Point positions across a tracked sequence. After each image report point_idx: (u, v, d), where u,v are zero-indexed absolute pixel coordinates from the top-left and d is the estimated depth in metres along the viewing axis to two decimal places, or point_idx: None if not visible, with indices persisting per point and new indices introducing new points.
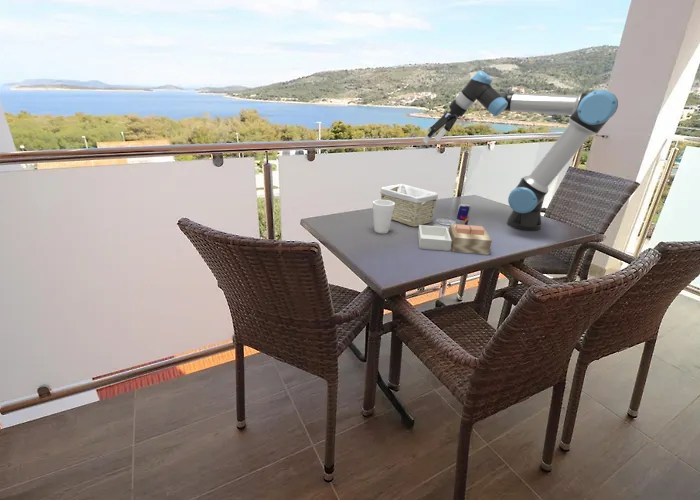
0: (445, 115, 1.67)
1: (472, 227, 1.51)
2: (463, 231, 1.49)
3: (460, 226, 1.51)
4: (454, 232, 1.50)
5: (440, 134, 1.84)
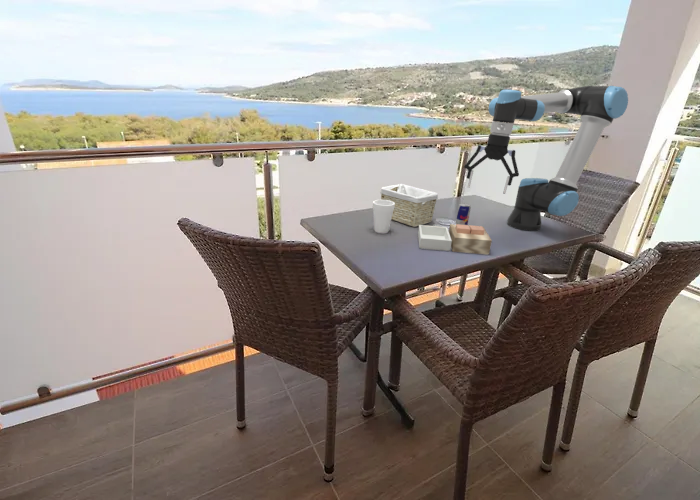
0: (514, 154, 1.39)
1: (472, 227, 1.51)
2: (463, 231, 1.49)
3: (460, 226, 1.51)
4: (454, 232, 1.50)
5: (471, 179, 1.48)
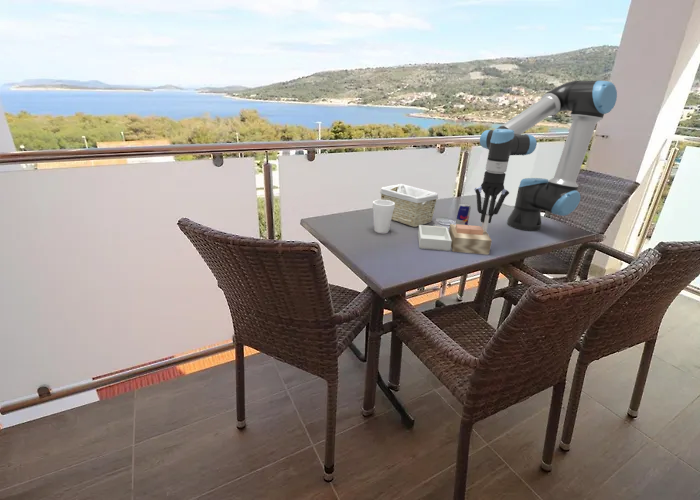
0: None
1: (471, 227, 1.51)
2: (463, 231, 1.49)
3: (460, 226, 1.51)
4: (454, 232, 1.50)
5: None
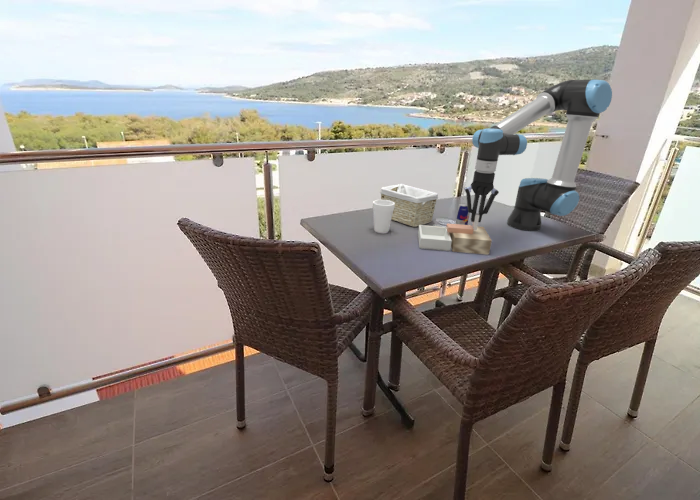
0: None
1: (461, 226, 1.51)
2: (454, 230, 1.50)
3: (451, 225, 1.52)
4: None
5: None
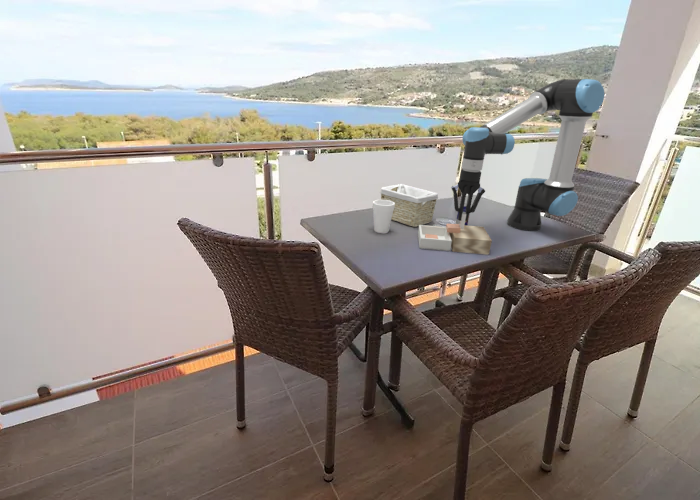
0: None
1: (448, 225, 1.52)
2: None
3: None
4: None
5: None
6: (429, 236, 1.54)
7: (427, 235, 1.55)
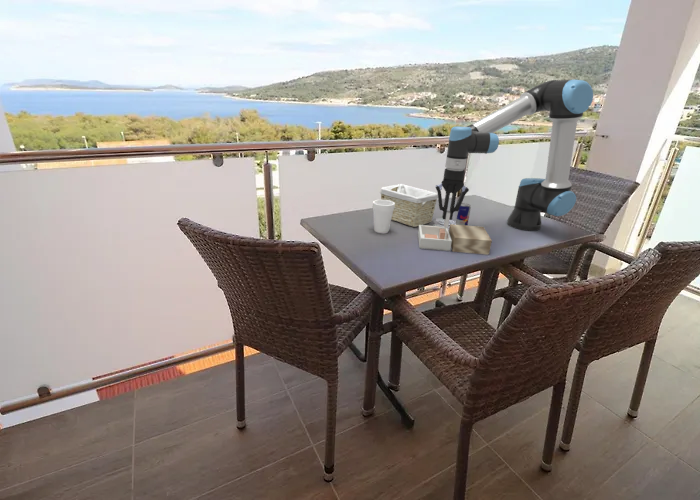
0: None
1: None
2: None
3: None
4: (454, 232, 1.50)
5: None
6: (429, 236, 1.54)
7: (427, 235, 1.56)
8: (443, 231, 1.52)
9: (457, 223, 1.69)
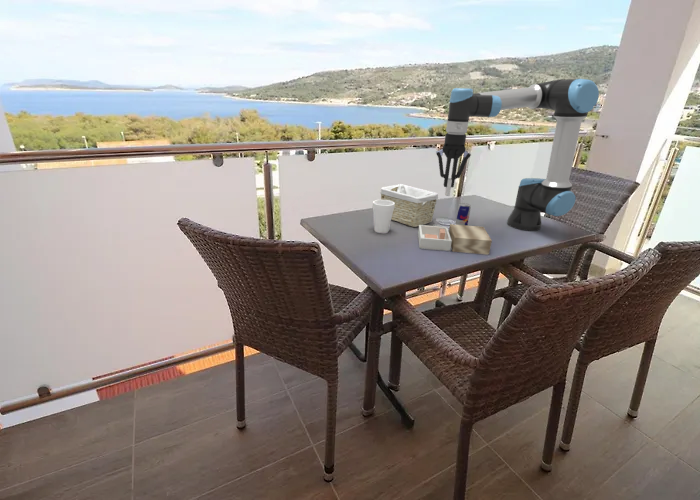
0: None
1: None
2: None
3: None
4: (454, 232, 1.50)
5: None
6: (429, 236, 1.54)
7: (427, 235, 1.56)
8: (443, 231, 1.52)
9: (457, 223, 1.69)
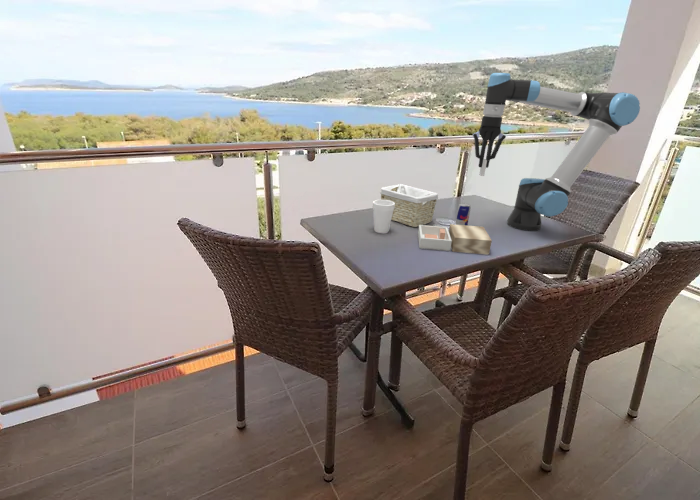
0: None
1: None
2: None
3: None
4: (454, 232, 1.50)
5: None
6: (429, 236, 1.54)
7: (427, 235, 1.56)
8: (443, 231, 1.52)
9: (457, 223, 1.69)
